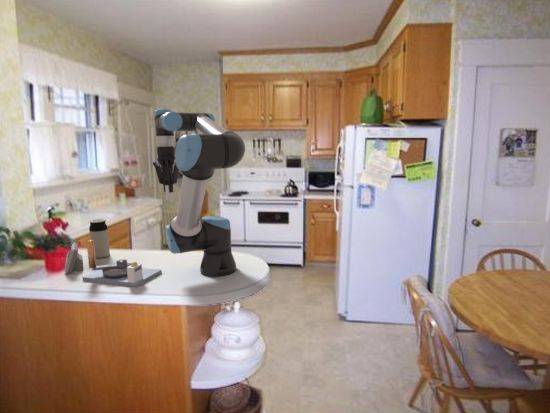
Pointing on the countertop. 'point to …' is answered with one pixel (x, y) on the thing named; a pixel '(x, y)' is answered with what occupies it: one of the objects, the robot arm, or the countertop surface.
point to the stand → (134, 277)
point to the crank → (108, 270)
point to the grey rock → (74, 260)
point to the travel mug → (99, 237)
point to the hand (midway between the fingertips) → (169, 199)
